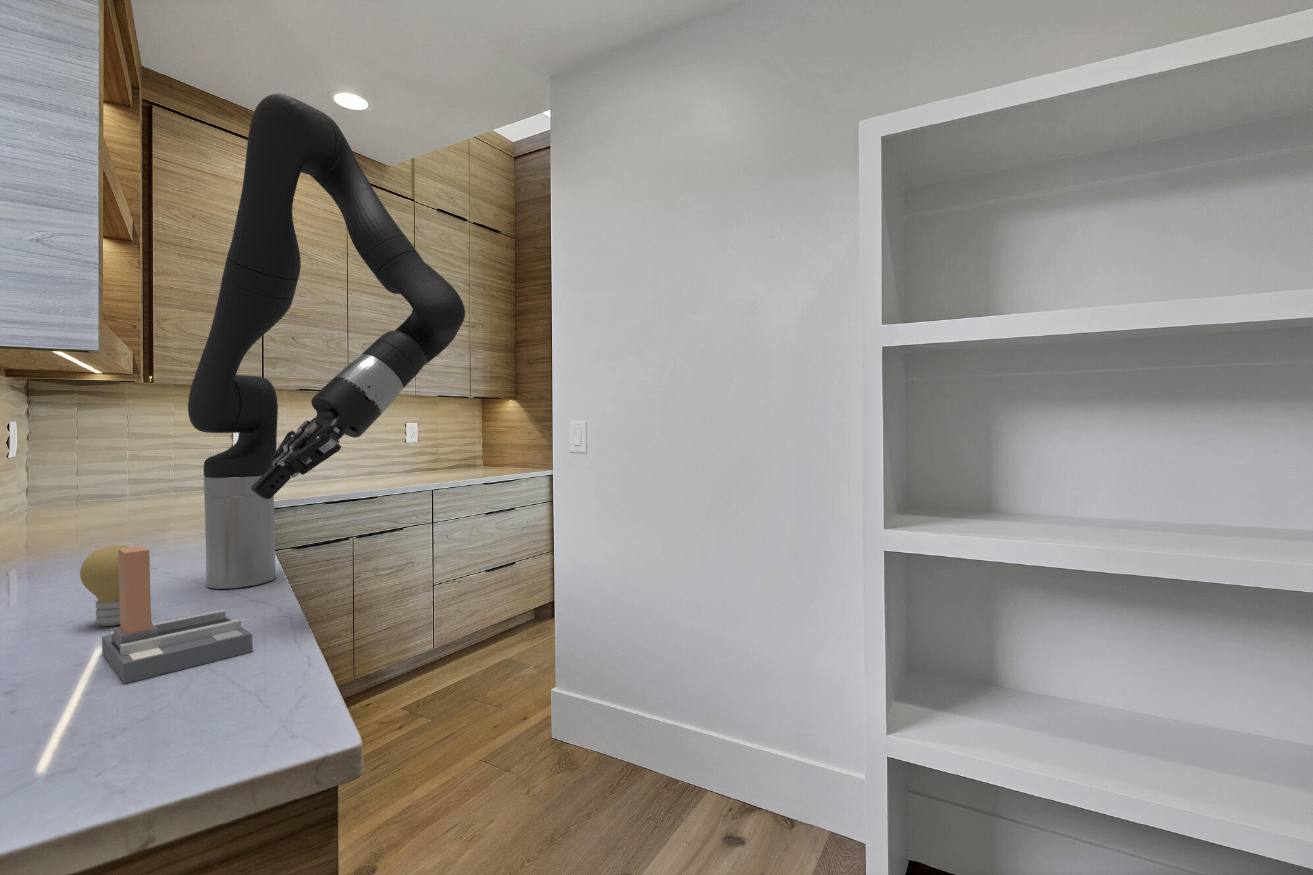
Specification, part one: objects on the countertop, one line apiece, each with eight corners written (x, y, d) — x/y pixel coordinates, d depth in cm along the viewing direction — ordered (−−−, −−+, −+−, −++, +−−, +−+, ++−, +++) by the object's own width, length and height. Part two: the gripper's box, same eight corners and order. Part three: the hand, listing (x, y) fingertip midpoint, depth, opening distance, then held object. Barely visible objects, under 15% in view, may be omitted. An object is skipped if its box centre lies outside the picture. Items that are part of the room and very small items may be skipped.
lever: (114, 641, 66) (111, 549, 66) (149, 634, 68) (147, 544, 68) (121, 650, 63) (118, 554, 63) (158, 642, 66) (155, 549, 65)
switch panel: (102, 654, 68) (101, 627, 68) (220, 628, 77) (219, 604, 76) (123, 683, 60) (123, 653, 60) (252, 651, 69) (251, 625, 69)
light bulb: (88, 635, 74) (85, 553, 74) (76, 625, 78) (74, 547, 78) (154, 621, 79) (152, 544, 79) (140, 612, 83) (138, 539, 83)
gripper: (318, 376, 86) (216, 471, 77) (360, 372, 77) (250, 479, 68) (358, 414, 90) (265, 507, 81) (402, 414, 81) (303, 519, 72)
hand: (259, 494), depth 75 cm, fingers closed
